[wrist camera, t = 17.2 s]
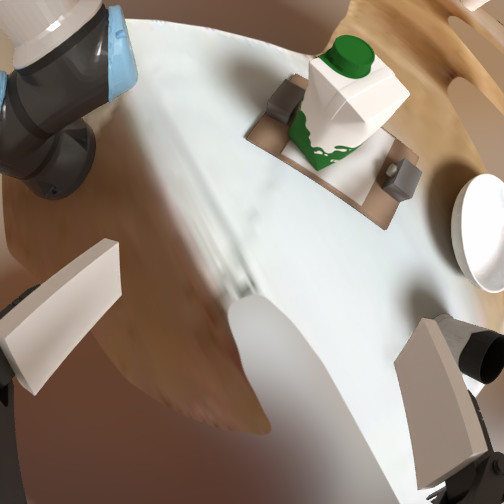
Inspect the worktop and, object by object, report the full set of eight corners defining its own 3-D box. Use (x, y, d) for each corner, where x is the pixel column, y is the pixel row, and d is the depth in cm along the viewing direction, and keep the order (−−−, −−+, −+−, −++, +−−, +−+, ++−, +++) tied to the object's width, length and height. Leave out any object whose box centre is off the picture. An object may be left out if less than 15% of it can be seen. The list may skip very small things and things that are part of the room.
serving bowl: (507, 211, 42) (528, 207, 35) (487, 303, 42) (509, 307, 35) (448, 160, 41) (470, 150, 35) (423, 265, 41) (448, 266, 34)
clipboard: (246, 140, 40) (247, 126, 35) (294, 76, 41) (299, 59, 36) (383, 229, 41) (399, 227, 36) (416, 158, 41) (431, 149, 36)
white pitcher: (462, 324, 41) (517, 342, 26) (426, 390, 41) (472, 424, 26) (437, 305, 41) (496, 321, 26) (398, 377, 41) (445, 415, 26)
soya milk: (321, 106, 39) (366, 23, 19) (358, 151, 39) (429, 88, 19) (278, 133, 39) (303, 46, 19) (316, 181, 39) (375, 122, 19)
